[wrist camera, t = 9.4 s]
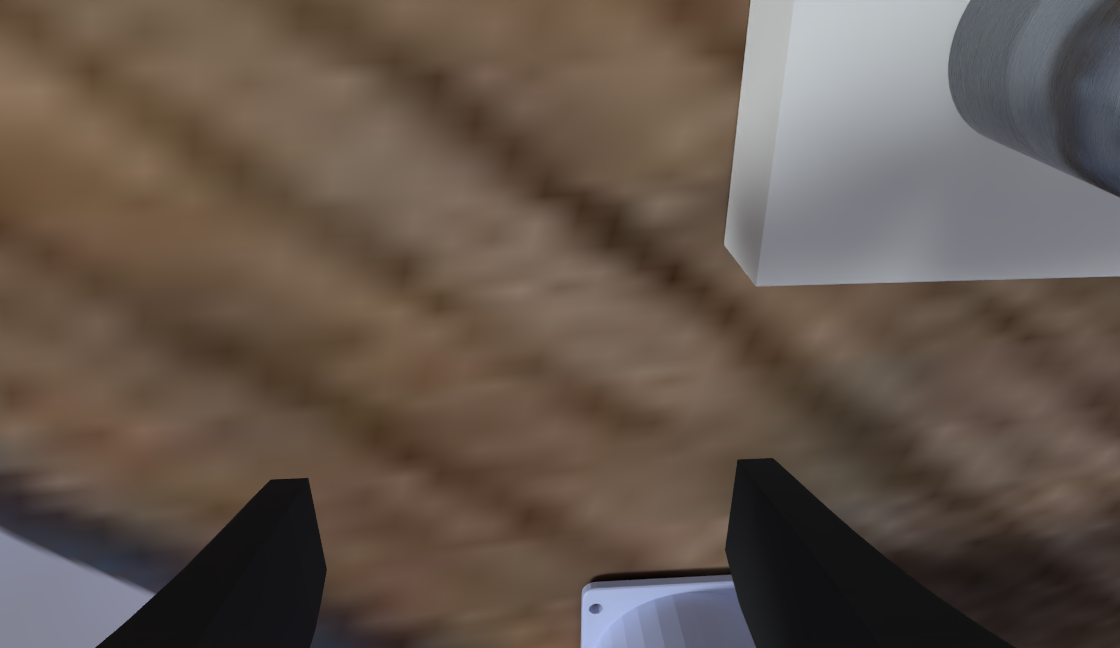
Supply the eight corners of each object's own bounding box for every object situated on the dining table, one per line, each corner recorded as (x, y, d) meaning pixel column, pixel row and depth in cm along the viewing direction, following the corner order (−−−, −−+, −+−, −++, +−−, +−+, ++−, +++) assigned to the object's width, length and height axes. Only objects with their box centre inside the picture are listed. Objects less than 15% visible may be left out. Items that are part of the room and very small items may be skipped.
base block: (1115, 235, 22) (1201, 273, 19) (723, 244, 21) (755, 286, 18) (1303, -270, 16) (1462, -316, 13) (781, -281, 15) (839, -331, 13)
